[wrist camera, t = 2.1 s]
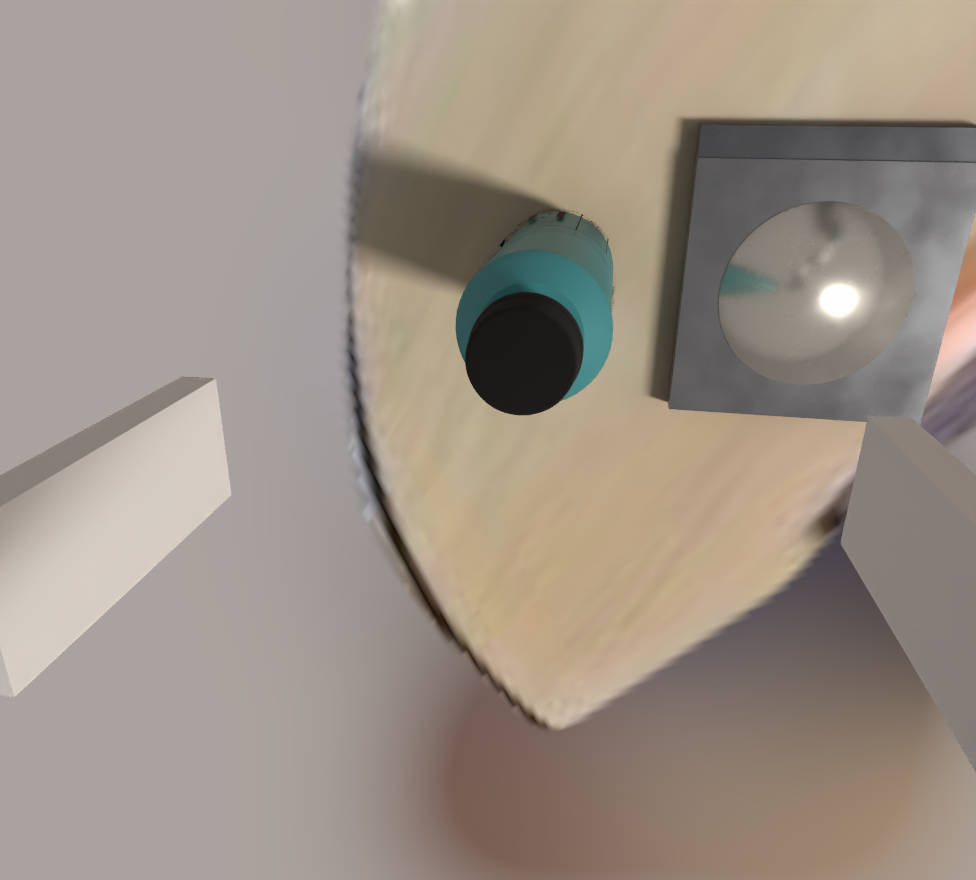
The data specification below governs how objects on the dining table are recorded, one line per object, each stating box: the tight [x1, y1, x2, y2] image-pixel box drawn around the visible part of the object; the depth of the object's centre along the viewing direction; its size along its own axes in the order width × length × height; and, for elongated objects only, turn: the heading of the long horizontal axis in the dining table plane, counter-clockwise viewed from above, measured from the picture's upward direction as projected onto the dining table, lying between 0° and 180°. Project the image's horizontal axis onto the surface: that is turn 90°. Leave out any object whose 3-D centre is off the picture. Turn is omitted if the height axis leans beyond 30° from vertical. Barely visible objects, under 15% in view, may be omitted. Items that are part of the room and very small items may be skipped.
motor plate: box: [668, 125, 976, 425], centre depth 40 cm, size 16×14×1 cm
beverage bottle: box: [456, 209, 616, 415], centre depth 34 cm, size 6×7×20 cm
